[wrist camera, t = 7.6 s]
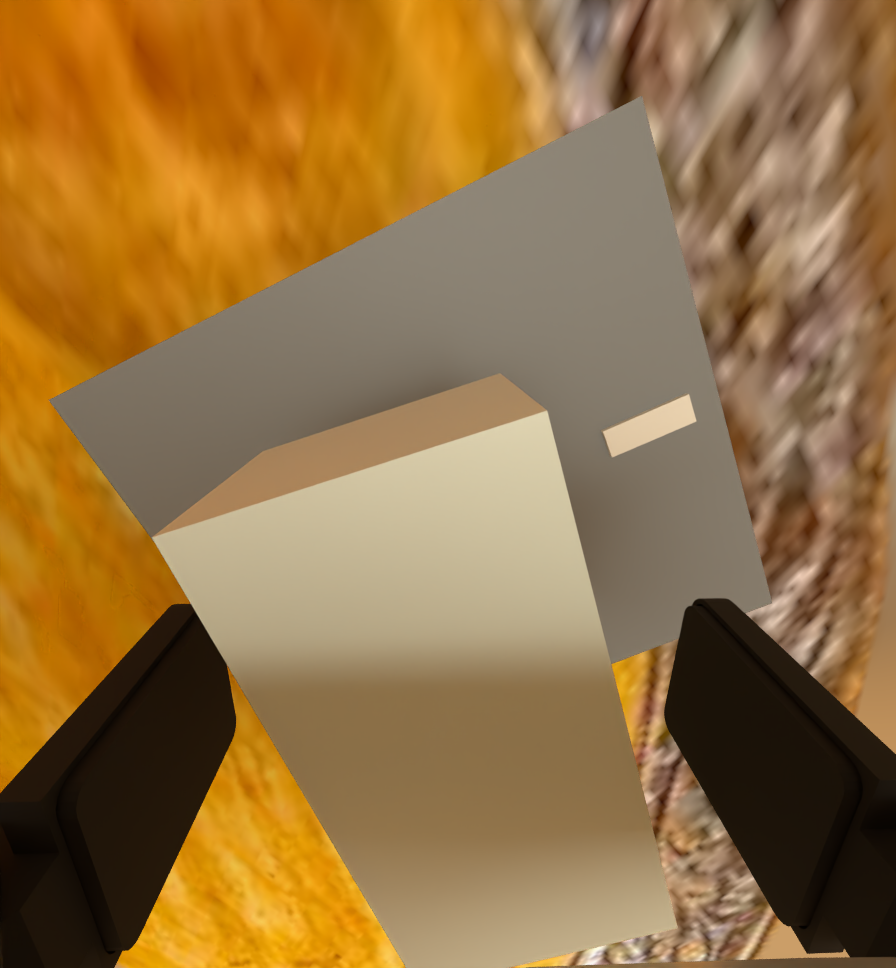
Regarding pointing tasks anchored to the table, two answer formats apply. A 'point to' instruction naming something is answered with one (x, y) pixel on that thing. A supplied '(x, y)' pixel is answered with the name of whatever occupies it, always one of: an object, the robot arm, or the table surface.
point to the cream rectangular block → (436, 674)
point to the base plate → (478, 369)
